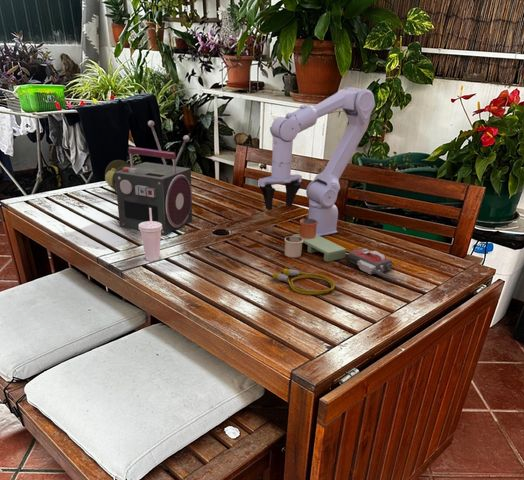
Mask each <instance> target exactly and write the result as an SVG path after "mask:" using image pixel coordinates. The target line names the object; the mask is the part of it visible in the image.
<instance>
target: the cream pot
mask: <svg viewBox="0 0 524 480" xmlns="http://www.w3.org/2000/svg"><path fill="white" fill-rule="evenodd" d="M283 241H284V251H283V254H284V256H286V257H288V258H300V257H301V256H302V250H303V244H304V243H303V239H302V238H300V237H296V236H293V235H290V236H289V235H288V236H286V237H284V239H283ZM302 243H303V244H302Z"/></svg>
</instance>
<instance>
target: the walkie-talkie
mask: <svg viewBox="0 0 524 480" xmlns="http://www.w3.org/2000/svg"><path fill="white" fill-rule="evenodd" d="M344 259H347V260H348V262H349V263H351V264H352V265H355V266H357V267H358V269H359V270H360V271H362V272H365V273H367V274H368V275H373V274H374V275H377V276H380V277H382V278H384V279H388V280H391V281H392V282H397V278H396V277H393V276H391V275H388V274H387V273H384V272H387V271H388V272H389V271H391V270H392V268H393V260H391V259H389V258H387V257H386V255H385V254H384V253H380V252H379V251H377V250H369V249H368V248H362V247H359V248H354V249H351V250H349V253H346V254H345V258H344Z"/></svg>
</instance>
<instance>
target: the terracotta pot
mask: <svg viewBox="0 0 524 480" xmlns="http://www.w3.org/2000/svg"><path fill="white" fill-rule="evenodd" d="M317 224H318V221H317V220H314V219H308V218H301V219H300V220H299V233H298V234H299V236H300V237H302V238H306V239H312V238H315V237H316V228H317Z"/></svg>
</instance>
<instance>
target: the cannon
mask: <svg viewBox="0 0 524 480" xmlns="http://www.w3.org/2000/svg"><path fill="white" fill-rule="evenodd" d="M124 167H131V164H130V163H128V162H127V161H125V160H122V159H115V160H112V161H110V162H109V163H108V165H107V166H106V168H105V171H104V181H106V183H107V185H108V186H109V187H110V188H111V189H113V190H114V191H115V192H116V183H115V174H114V172H116V171H119V170H122V168H124Z"/></svg>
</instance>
